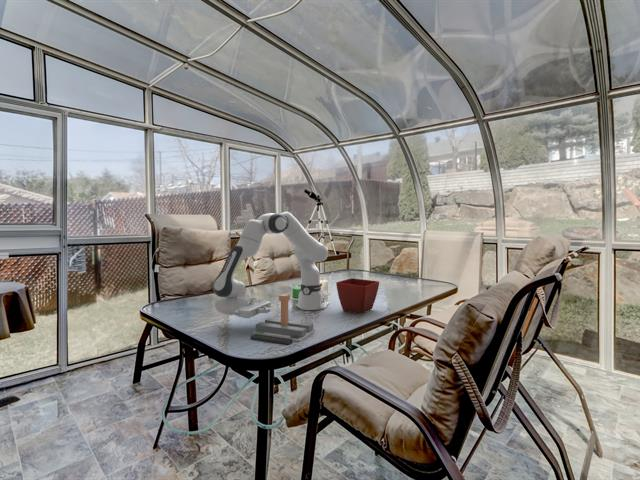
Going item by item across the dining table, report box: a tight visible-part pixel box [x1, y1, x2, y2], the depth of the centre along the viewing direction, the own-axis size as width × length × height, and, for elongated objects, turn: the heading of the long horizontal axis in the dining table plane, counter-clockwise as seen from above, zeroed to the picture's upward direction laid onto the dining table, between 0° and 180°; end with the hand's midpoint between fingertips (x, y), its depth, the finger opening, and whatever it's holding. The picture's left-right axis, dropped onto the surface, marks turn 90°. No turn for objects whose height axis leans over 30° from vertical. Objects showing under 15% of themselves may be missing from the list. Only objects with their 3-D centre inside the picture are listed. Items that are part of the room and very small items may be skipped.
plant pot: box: [335, 277, 380, 314], centre depth 202 cm, size 19×19×17 cm
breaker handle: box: [278, 293, 291, 326], centre depth 162 cm, size 4×4×16 cm
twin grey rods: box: [250, 334, 294, 345], centre depth 151 cm, size 4×20×2 cm, turn 67°
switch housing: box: [252, 317, 316, 342], centre depth 162 cm, size 16×24×4 cm
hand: (268, 310), depth 165 cm, fingers closed
